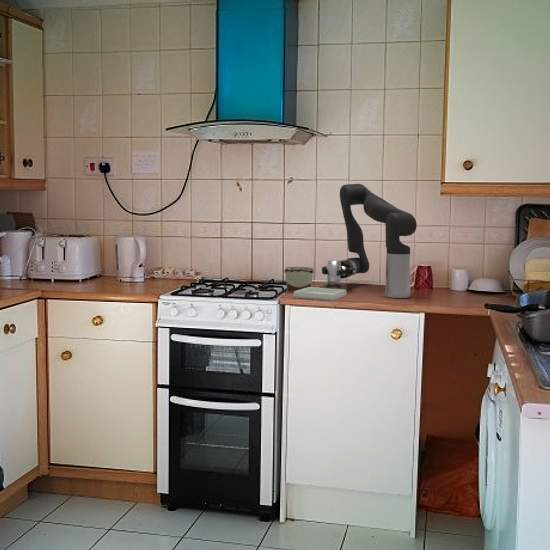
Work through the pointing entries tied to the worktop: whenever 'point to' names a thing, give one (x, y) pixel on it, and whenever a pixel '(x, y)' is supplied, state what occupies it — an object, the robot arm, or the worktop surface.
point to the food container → (298, 278)
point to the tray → (320, 293)
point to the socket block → (335, 288)
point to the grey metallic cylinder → (333, 273)
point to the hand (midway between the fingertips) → (331, 272)
